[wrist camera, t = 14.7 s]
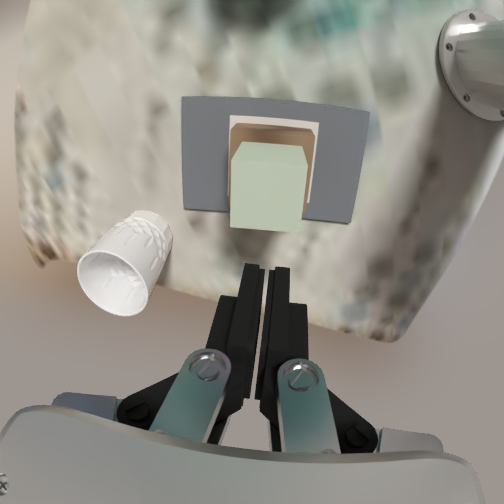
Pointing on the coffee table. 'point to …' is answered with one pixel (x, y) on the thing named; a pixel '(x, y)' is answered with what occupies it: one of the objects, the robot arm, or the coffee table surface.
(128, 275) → the white cup
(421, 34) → the coffee table surface
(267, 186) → the sage cube
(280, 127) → the walnut base block
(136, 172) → the coffee table surface
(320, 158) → the mat
